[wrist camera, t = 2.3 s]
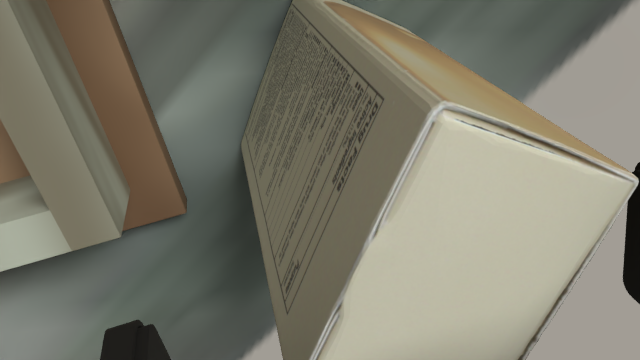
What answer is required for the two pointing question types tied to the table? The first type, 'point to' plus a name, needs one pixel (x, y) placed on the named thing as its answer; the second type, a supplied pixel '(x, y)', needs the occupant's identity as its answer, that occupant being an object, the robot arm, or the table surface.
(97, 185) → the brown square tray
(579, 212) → the skincare box
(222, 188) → the table surface
